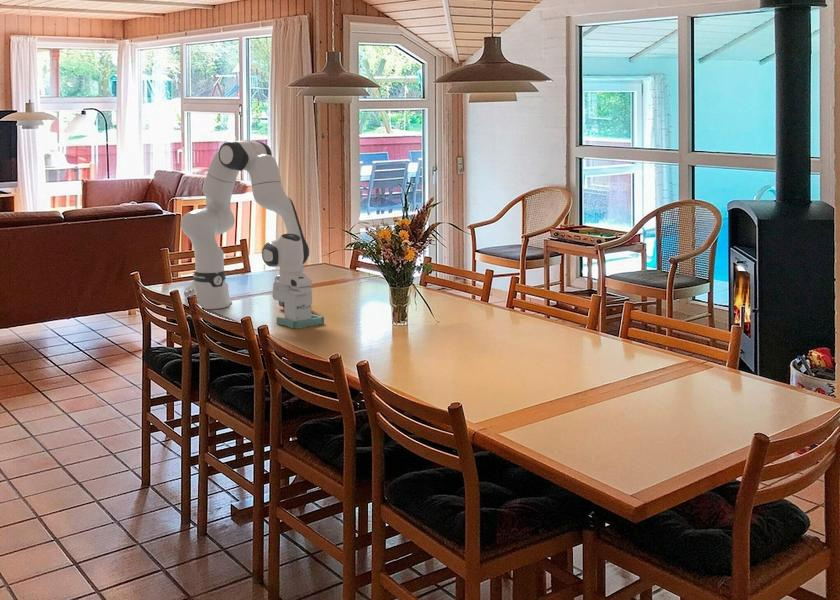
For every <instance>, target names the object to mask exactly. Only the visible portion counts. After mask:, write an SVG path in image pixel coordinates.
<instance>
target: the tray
mask: <svg viewBox="0 0 840 600" xmlns="http://www.w3.org/2000/svg"><path fill="white" fill-rule="evenodd" d="M311 316H312V319H307V320H301V321H292V320H289V319H285V318H284V317H281V316H276V319H275V320H276V324H277V323H278V324H277V325H279V324H281V325H280V326H282V325H285V326H284V327H286V326H288V327H287V328H289V327H292V328H291V329H293V328H299V327H304V328H307V327H306V326H310V327H314V326H313V325H315V326H320V325H319V324H321V325H325V317H324V316H321V315H317V314H313V313H312V315H311ZM299 329H300V328H299Z"/></svg>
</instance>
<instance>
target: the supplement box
mask: <svg viewBox="0 0 840 600" xmlns="http://www.w3.org/2000/svg"><path fill="white" fill-rule="evenodd" d="M310 299H311V292H304V293H301V292H299V291H295V290H288V291H284V308H283V310H284V312H283V314H284V317H283V318H285V319H289V320H292V321H301V320H307V319H312V316H311V315H312V314H313V313H312V304H311V305H310V306H305V305H304V301H307V300H310Z"/></svg>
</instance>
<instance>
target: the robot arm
mask: <svg viewBox="0 0 840 600" xmlns="http://www.w3.org/2000/svg"><path fill="white" fill-rule="evenodd" d="M277 163H278V162H277V161H276V159H275V157H274V156H273V154H272V150H271V147H270V146H269V145H267V144H266V143H264V142H262V141H255V140H250V139H249V140H248V139H243V140H229V141H225V142H224V143H222V144H221V145H220V147H219V149H217V150H216V152H215V153H214V155H213V157H212V160H211V162H210V164H209V167H208V169H207V173H206V176H205V180H204V184H203V187H202V194H203V195H204V197H205V199H206V200H205V206H204V207H203V208H198V209H193V210H190V211H189V212H186V213H185V214H183V216H182V217H181V220H180V226H181V227H180V228H181V231H182V233H183V234H184V235H185V236H187V238H188V239H189V240H190V243H191V245H192V248H193V252H194V263H195V264H194V265H195V267H194V268H195V270H194V271H193V272H192V273H193V274H192V275H193V279H192V281H191V283H190V284H188V285H187V286H186V287H185V289H184V292H183V294H184V299H181V300H182V302H183V303H184V304H185V305H186V306H188V301H187V297H188V296H189V295H196V296H197V299H198V304H199V305H200V306H201V307H202V308H204V309H203V310H216V309H217V310H218V309H225V308H228V307H230V306H231V304H233V301H232V299H231V300H230V290H229V284H228V283H227V282H226V277H227V276H226V275H227V273H226V270H225V256H224V250H223V249H222V248H221V247H220V246H219V245H218V243H217V240H216V236H217V235H223V234H224V233H227V232H228V231H230V230H232V229H233V227H234V225H235V216H234V214H233V212H232V210H231V200H232V196H233V192H234V189H235V184H236V181H237V178H238V174H239V172H242V171H246V172H247V173H248V174H249V176H250V181H251V190H252V195H253V198H254V200H255V202H256V204H258V205H259V206H260V207H262V208H264V209H266V210H268V211H272V212H274V213H275V214H277V215H279V216H280V217H281V219H282V220H283V222H284V225H285V228H286V229H285V230H286V232H287V233H284V234H281V235H280V237H278V238H277V239H275V240H271V241H268V242H266V243H265V244H264V245H263V247H262V249H261V257H262V261H263V262H264V264H266V266H267V267H269V268H270V267H272V268H277V267H279V271H278V272H279V275H276V276H275V277H274V282H273V284H272V285H273V286H272V298H273V300H274V301H278V302H279V301H281V302H284V291H288V290H295V291H299V292H301V293H304V292H311V299H310V300H307V301H304V305H305V306H310V305H311V306H312V304H313V289H312V287H311V286H312V285H313V279H311V278H310V277H308V276H307V275H306V274H305V273H304V272H305V271H304V267H303V265H304V264H305V263H306V262H307V261H308V258H309V256H310V247H309V245H308V242H307V241H306V239H305V237H304V234H303V229H302V226H301V223H300V220H299V217H298V214H297V211H296V207H295V203H294V202H293V200H292V199H291V198H290V197H289V196H288V195H287V194H286V192H285V190H284V187H283V184H282V177H281V173H280V169H279V167H278V166H279V165H278V164H277Z"/></svg>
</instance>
